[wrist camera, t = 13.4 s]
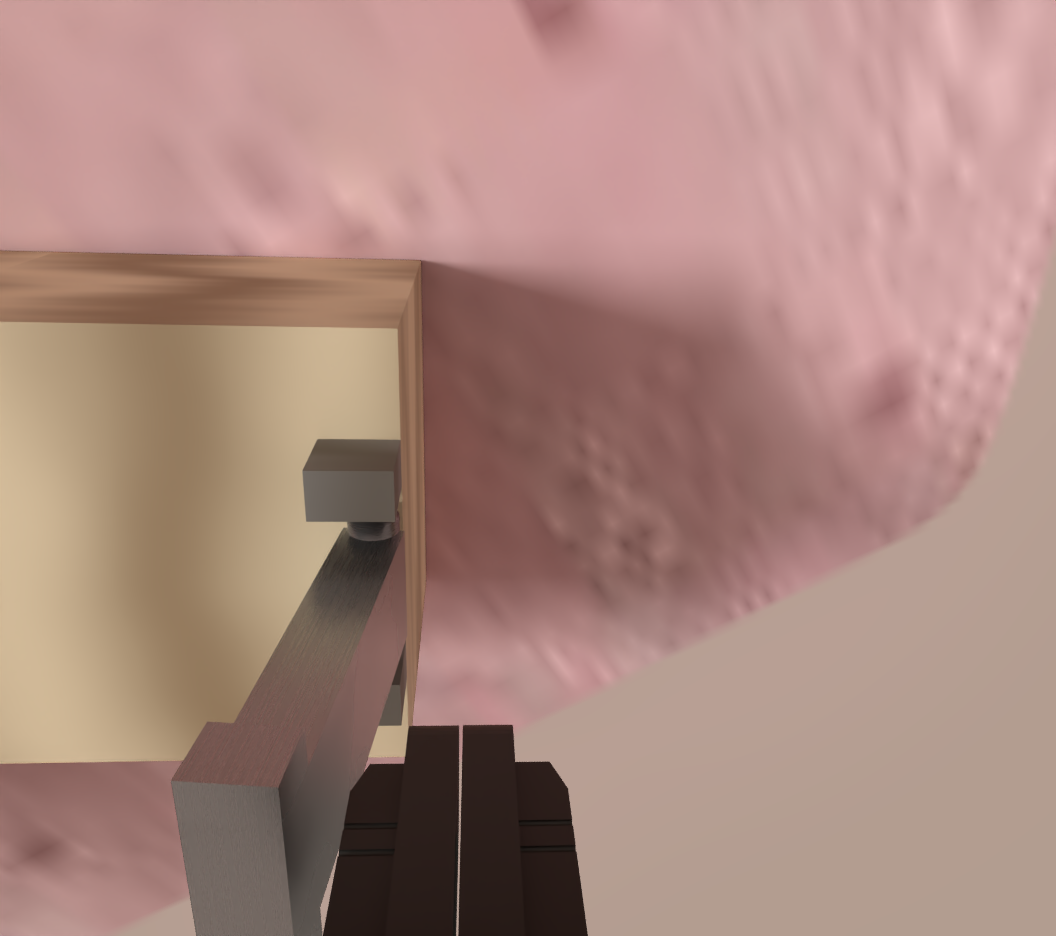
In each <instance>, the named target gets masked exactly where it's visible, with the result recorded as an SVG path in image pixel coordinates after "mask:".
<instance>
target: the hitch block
mask: <svg viewBox="0 0 1056 936" xmlns="http://www.w3.org/2000/svg"><path fill="white" fill-rule="evenodd" d="M397 510H398V512H399V516H400V531H405V567H406V605H407V638H406V641H405V644H404V647H403V651H402V654H401V657H400V660H399V663H398V666H397V669H396V672H395V675H394V679H393V682H392V685H391V688H390V691H389V694H388V697H387V700H386V703H385V707H384V710H383V713H382V716H381V719H380V722H379V725H378V728H377V731H376V735H375V738H374V741H373V744H372V747H371V750H370V753H369V756H368V757H405V753H406V744H407V735H408V728H409V726H412V721H413V711H414V701H415V690H416V680H417V670H418V659H419V649H420V639H421V628H422V618H423V608H424V597H425V587H426V543H425V480H424V416H423V352H422V289H421V260H386V259H342V258H298V257H254V256H211V255H167V254H123V253H79V252H35V251H0V764H14V763H72V762H131V761H183V760H184V759H185V757H186V755H187V754H188V752H189V750H190V749H191V747H192V745H193V744H194V742H195V741H196V739H197V737H198V736H199V734H200V732H201V731H202V729H203V727H204V726H205V724H206V722H223V723H234V721H235V720H236V718H237V716H238V714H239V713H240V711H241V709H242V707H243V705H244V704H245V702H246V700H247V698H248V696H249V695H250V693H251V691H252V689H253V688H254V686H255V684H256V682H257V680H258V679H259V677H260V675H261V673H262V672H263V670H264V668H265V666H266V664H267V663H268V661H269V659H270V657H271V656H272V654H273V652H274V650H275V648H276V647H277V645H278V643H279V641H280V640H281V638H282V636H283V634H284V632H285V631H286V629H287V627H288V625H289V623H290V622H291V620H292V618H293V616H294V615H295V613H296V611H297V609H298V607H299V606H300V604H301V602H302V600H303V599H304V597H305V595H306V593H307V591H308V590H309V588H310V586H311V584H312V583H313V581H314V579H315V577H316V575H317V574H318V572H319V570H320V568H321V567H322V565H323V563H324V561H325V559H326V558H327V556H328V554H329V552H330V550H331V549H332V547H333V545H334V543H335V542H336V540H337V538H338V536H339V534H340V533H341V531H342V529H343V528H347V522H395V520H396V515H397Z"/></svg>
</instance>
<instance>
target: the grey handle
mask: <svg viewBox="0 0 1056 936" xmlns="http://www.w3.org/2000/svg"><path fill="white" fill-rule="evenodd" d="M406 638H407V605H406V567H405V531H400V516H399V512H398V510H397V515H396V520H395V522H347V528H343V529H342V531H341V533H340V534H339V536H338V538H337V540H336V542H335V543H334V545H333V547H332V549H331V550H330V552H329V554H328V556H327V558H326V559H325V561H324V563H323V565H322V567H321V568H320V570H319V572H318V574H317V575H316V577H315V579H314V581H313V583H312V584H311V586H310V588H309V590H308V591H307V593H306V595H305V597H304V599H303V600H302V602H301V604H300V606H299V607H298V609H297V611H296V613H295V615H294V616H293V618H292V620H291V622H290V623H289V625H288V627H287V629H286V631H285V632H284V634H283V636H282V638H281V640H280V641H279V643H278V645H277V647H276V648H275V650H274V652H273V654H272V656H271V657H270V659H269V661H268V663H267V664H266V666H265V668H264V670H263V672H262V673H261V675H260V677H259V679H258V680H257V682H256V684H255V686H254V688H253V689H252V691H251V693H250V695H249V696H248V698H247V700H246V702H245V704H244V705H243V707H242V709H241V711H240V713H239V714H238V716H237V718H236V720H235V721H234V723H223V722H206V724H205V726H204V727H203V729H202V731H201V732H200V734H199V736H198V737H197V739H196V741H195V742H194V744H193V745H192V747H191V749H190V750H189V752H188V754H187V755H186V757H185V759H184V760H183V762H182V764H181V765H180V767H179V769H178V770H177V772H176V773H175V775H174V777H173V778H172V780H171V784H172V790H173V796H174V802H175V808H176V814H177V820H178V827H179V833H180V839H181V845H182V851H183V857H184V863H185V869H186V875H187V881H188V888H189V894H190V900H191V905H192V912H193V918H194V924H195V930H196V936H322V927H321V926H322V925H321V914H320V906H321V903H322V900H323V897H324V893H325V890H326V887H327V884H328V881H329V878H330V875H331V871H332V869H333V865H334V862H335V859H336V856H337V853H338V850H339V847H340V842H341V836H342V831H343V830H344V820H345V815H346V810H347V804H348V799H349V794H350V791H351V790H352V788H353V787H354V785H355V784H356V783H357V781H358V780H359V779H360V777H361V776H362V775H363V772H364V769H365V766H366V763H367V760H368V756H369V753H370V750H371V747H372V744H373V741H374V738H375V735H376V731H377V728H378V725H379V722H380V719H381V716H382V713H383V710H384V707H385V703H386V700H387V697H388V694H389V691H390V688H391V685H392V682H393V679H394V675H395V672H396V669H397V666H398V663H399V660H400V657H401V654H402V651H403V647H404V644H405V641H406Z"/></svg>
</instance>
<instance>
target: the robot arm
mask: <svg viewBox="0 0 1056 936" xmlns="http://www.w3.org/2000/svg"><path fill="white" fill-rule="evenodd" d="M461 799H462V800H461V843H460V889H459V935H458V936H588V934H587V927H586V919H585V911H584V904H583V897H582V889H581V882H580V875H579V867H578V860H577V853H576V850H575V838H574V830H573V826H572V816H571V808H570V801H569V794H568V788H567V786H566V785H565V784H564V782H563V781H562V779H561V778H560V776H559V775H558V773H557V772H556V771H555V769H554V768H553V766H552V765H551V763H550V762H515V753H514V736H513V725H463V752H462V798H461ZM458 824H459V726H409V728H408V735H407V744H406V753H405V762H404V764H370V765H369V766H368V768H367V769H366V770H365V772H364V773H363V775H362V776H361V777H360V779H359V780H358V781H357V783H356V784H355V785H354V787H353V788H352V790H351V791H350V794H349V799H348V804H347V810H346V815H345V820H344V830H343V831H342V836H341V842H340V847H339V857H338V858H337V863H336V869H335V874H334V879H333V885H332V890H331V895H330V901H329V906H328V911H327V917H326V922H325V928H324V933H323V936H456V918H457V917H456V916H457V878H458V832H459V825H458Z"/></svg>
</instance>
